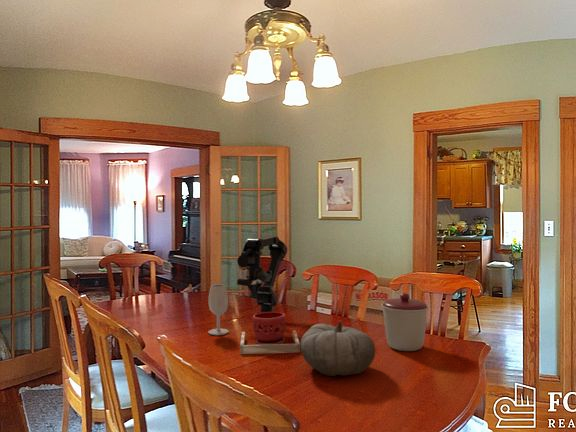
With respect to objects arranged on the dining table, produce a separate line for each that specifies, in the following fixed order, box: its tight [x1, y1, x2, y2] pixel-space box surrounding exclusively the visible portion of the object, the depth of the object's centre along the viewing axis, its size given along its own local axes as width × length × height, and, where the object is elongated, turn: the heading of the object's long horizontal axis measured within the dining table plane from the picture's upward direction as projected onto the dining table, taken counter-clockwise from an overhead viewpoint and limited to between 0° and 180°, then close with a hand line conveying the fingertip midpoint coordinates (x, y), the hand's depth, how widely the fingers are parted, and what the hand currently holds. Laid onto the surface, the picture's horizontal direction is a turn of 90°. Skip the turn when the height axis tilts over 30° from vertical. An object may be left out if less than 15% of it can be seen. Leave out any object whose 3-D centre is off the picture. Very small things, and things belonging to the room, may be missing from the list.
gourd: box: [300, 320, 376, 377], centre depth 148 cm, size 25×25×17 cm
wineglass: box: [207, 283, 230, 336], centre depth 193 cm, size 9×9×21 cm
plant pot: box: [252, 311, 286, 345], centre depth 176 cm, size 13×13×12 cm
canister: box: [380, 292, 430, 352], centre depth 171 cm, size 18×18×21 cm
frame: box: [239, 330, 301, 355], centre depth 175 cm, size 19×22×3 cm
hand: (254, 297), depth 209 cm, fingers closed
